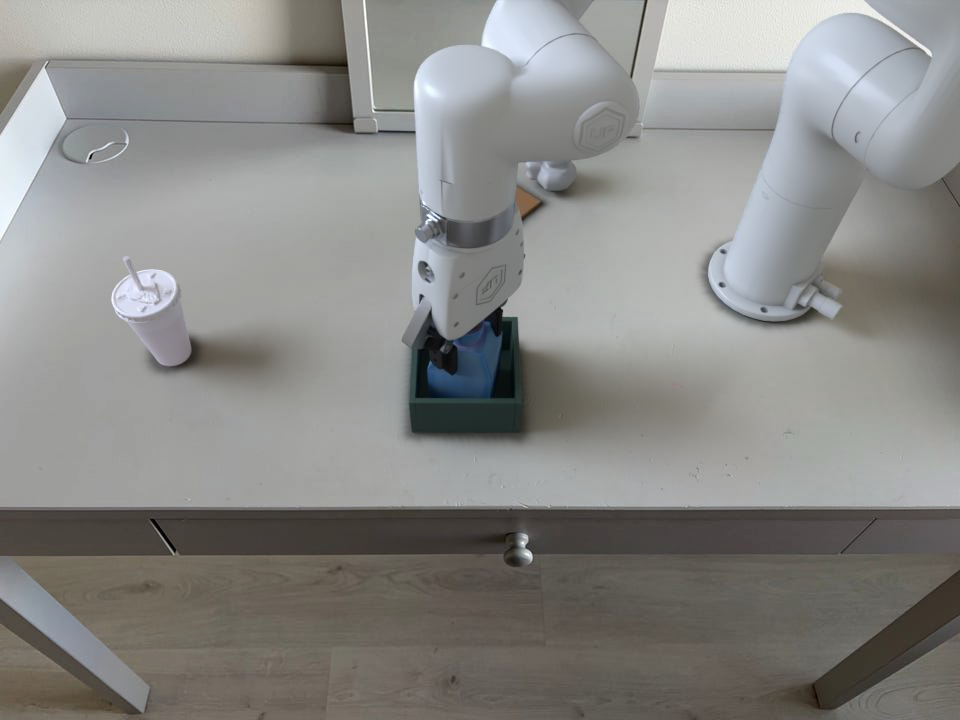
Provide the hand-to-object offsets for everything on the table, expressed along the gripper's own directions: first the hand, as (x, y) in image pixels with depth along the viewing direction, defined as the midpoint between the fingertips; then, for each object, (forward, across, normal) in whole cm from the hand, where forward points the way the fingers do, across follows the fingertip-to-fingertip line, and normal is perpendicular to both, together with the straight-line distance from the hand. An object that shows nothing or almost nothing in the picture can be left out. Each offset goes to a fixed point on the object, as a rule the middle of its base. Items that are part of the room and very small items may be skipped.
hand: (465, 346), depth 76 cm
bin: (+7, 0, 0) cm, 7 cm away
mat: (+7, +24, +16) cm, 30 cm away
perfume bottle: (+7, 0, 0) cm, 7 cm away
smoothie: (+7, -18, +26) cm, 32 cm away
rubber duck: (+7, +31, +14) cm, 35 cm away
